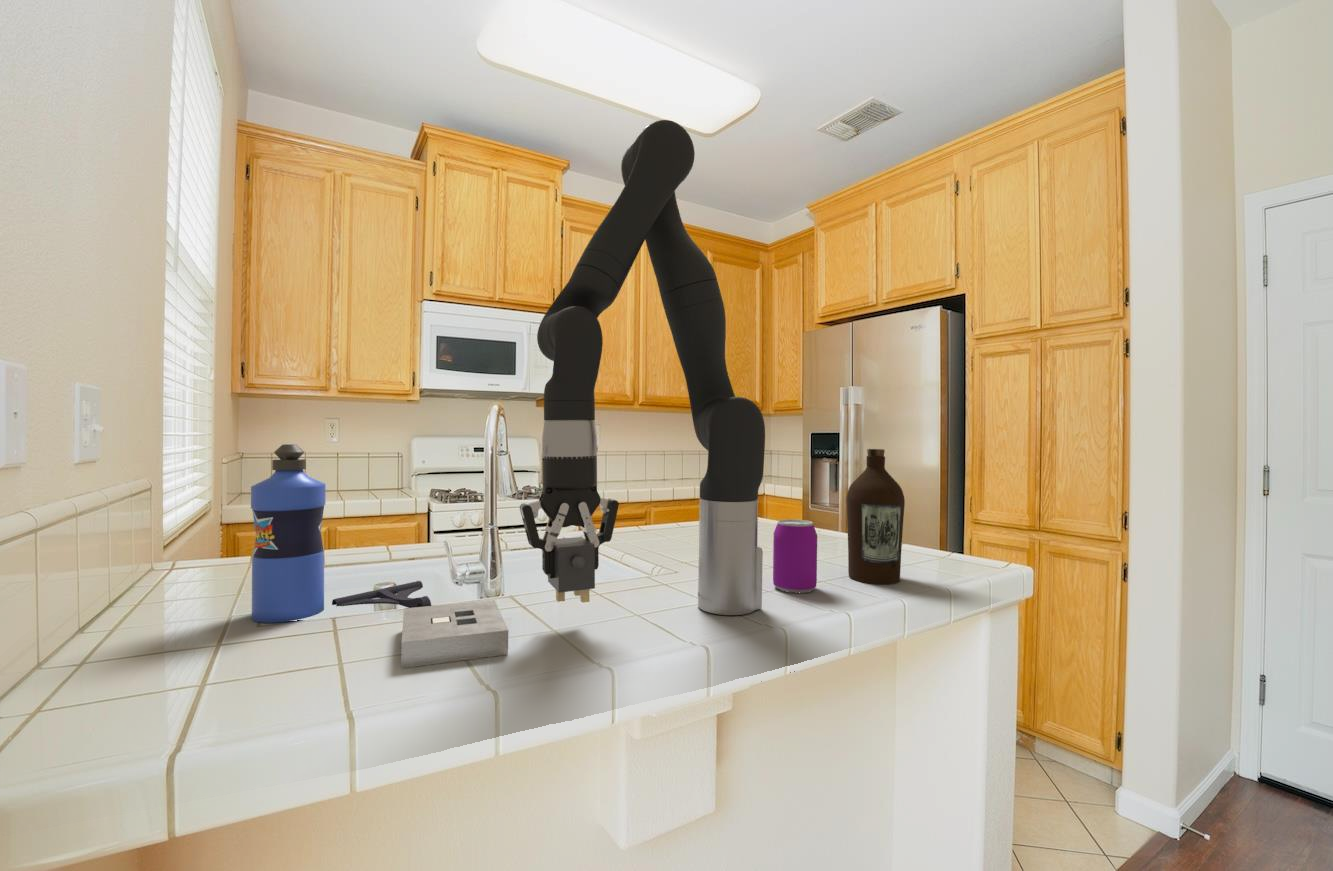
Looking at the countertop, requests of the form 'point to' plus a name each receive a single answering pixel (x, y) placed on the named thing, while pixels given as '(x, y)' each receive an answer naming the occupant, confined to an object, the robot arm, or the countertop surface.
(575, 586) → the plug
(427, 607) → the socket plate
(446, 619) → the earth shutter
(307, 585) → the blue detergent bottle
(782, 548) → the beverage can
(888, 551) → the olive oil
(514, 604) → the countertop surface
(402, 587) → the bracket
